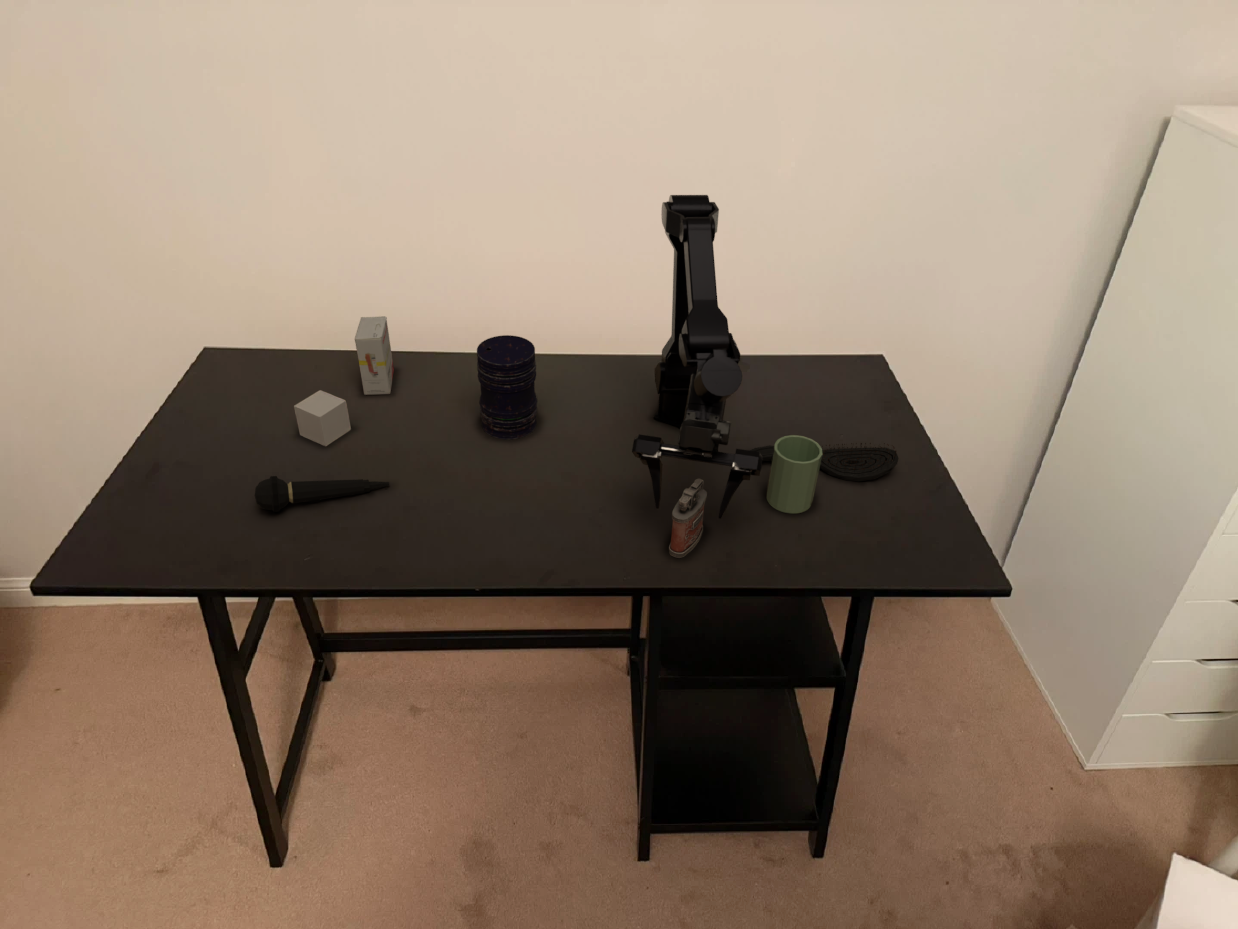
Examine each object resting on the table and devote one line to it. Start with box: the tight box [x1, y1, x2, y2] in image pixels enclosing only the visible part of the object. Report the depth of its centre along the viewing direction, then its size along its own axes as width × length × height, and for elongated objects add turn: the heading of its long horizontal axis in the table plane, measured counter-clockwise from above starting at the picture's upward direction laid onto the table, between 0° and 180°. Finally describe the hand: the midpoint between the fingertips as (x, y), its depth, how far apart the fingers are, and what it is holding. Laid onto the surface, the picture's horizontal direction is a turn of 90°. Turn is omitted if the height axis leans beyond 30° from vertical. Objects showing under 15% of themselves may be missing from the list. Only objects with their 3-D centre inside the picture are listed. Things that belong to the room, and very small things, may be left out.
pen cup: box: [765, 434, 823, 515], centre depth 146 cm, size 7×7×10 cm
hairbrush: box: [749, 442, 899, 482], centre depth 156 cm, size 8×4×25 cm
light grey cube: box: [293, 389, 352, 447], centre depth 158 cm, size 6×6×6 cm
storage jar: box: [476, 334, 538, 440], centre depth 159 cm, size 10×10×15 cm
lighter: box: [668, 478, 708, 559], centre depth 137 cm, size 8×3×10 cm, turn 150°
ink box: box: [354, 315, 395, 396], centre depth 169 cm, size 9×5×12 cm, turn 5°
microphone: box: [254, 475, 390, 513], centre depth 144 cm, size 6×6×20 cm
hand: (688, 513), depth 135 cm, fingers open, 9 cm apart
